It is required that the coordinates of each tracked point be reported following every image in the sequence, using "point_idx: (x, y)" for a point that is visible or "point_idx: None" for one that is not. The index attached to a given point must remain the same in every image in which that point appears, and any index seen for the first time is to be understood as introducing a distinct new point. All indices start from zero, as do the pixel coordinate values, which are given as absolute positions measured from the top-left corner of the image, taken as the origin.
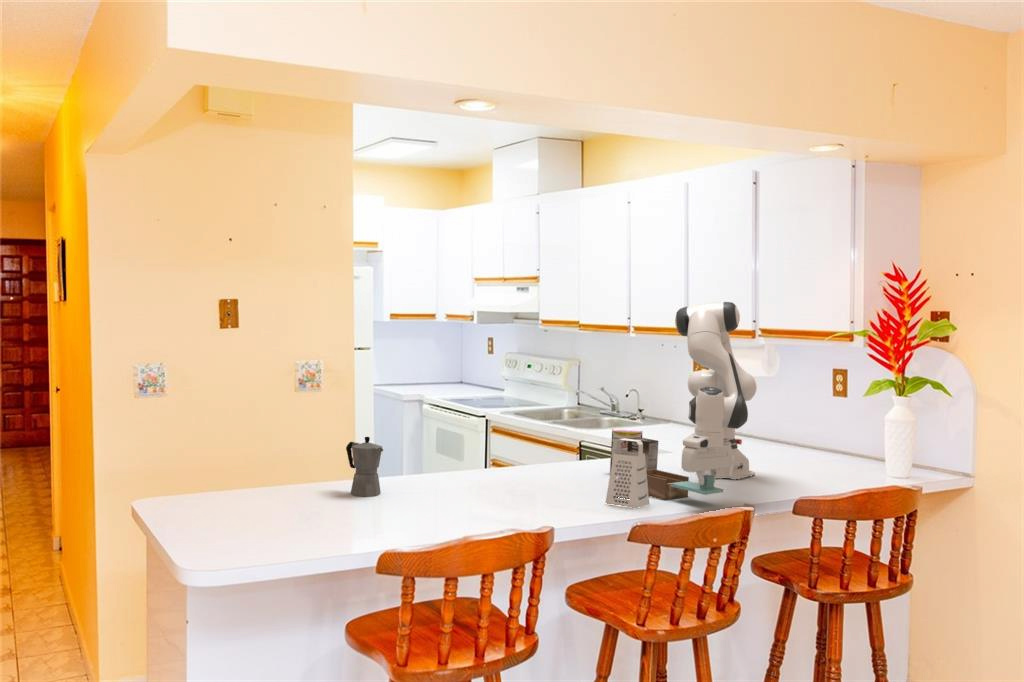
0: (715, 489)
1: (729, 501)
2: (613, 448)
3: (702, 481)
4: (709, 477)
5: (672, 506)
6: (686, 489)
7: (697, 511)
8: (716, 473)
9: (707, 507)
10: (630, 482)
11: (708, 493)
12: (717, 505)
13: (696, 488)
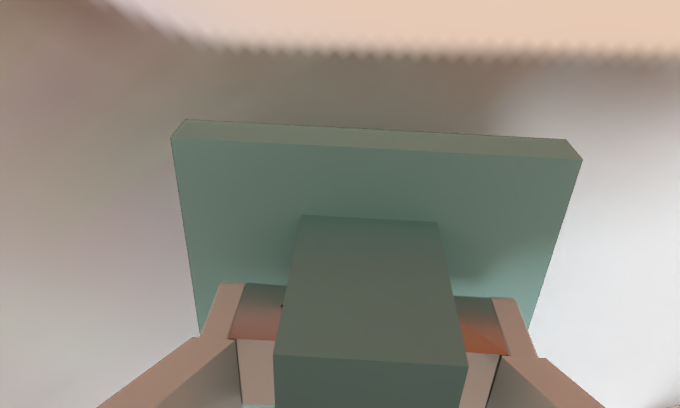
0: (312, 177)
1: (3, 173)
2: None
3: (523, 338)
4: (410, 350)
5: (617, 292)
6: None
7: (652, 63)
8: (158, 402)
9: (398, 124)
10: None
11: (503, 140)
12: None
13: None
